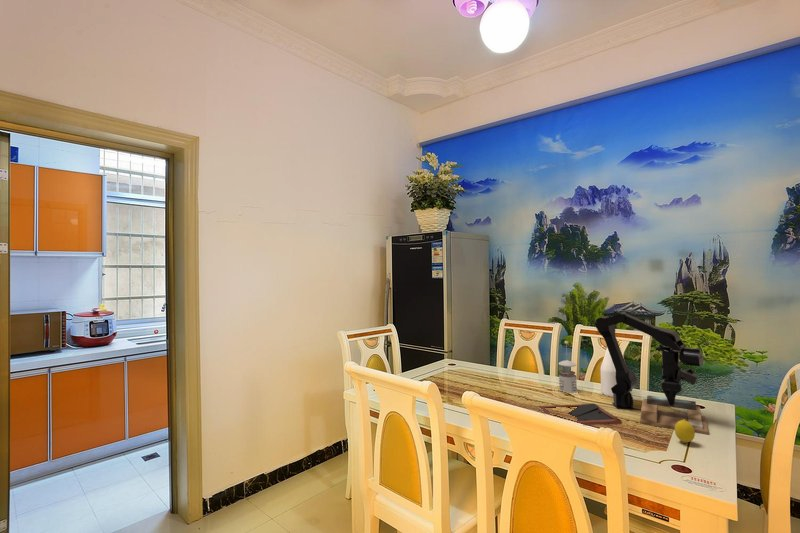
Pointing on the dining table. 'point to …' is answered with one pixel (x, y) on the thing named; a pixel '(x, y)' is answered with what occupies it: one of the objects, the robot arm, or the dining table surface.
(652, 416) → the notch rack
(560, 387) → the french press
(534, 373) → the dining table surface
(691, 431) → the lemon
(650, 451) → the dining table surface
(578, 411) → the picture frame
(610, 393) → the wine bottle
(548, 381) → the dining table surface
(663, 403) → the picture frame
